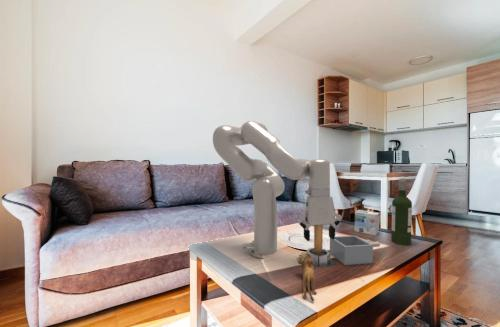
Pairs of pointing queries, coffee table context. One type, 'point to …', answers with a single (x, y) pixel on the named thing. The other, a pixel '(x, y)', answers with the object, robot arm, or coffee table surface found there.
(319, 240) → the strut
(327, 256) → the socket plate
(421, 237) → the coffee table surface
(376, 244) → the adjustable wrench
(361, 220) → the light bulb box
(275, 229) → the robot arm
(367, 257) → the bin
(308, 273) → the lion figurine
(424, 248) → the coffee table surface
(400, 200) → the wine bottle
